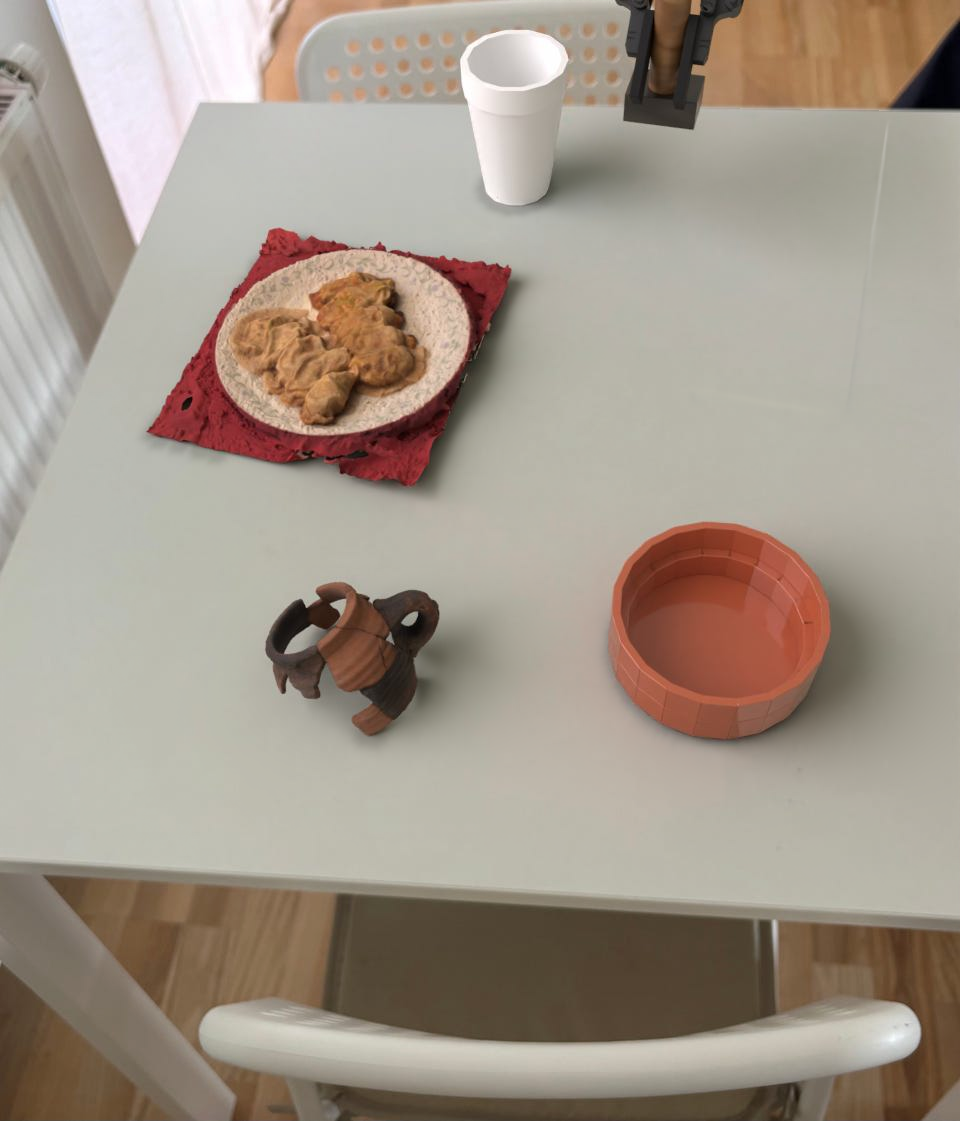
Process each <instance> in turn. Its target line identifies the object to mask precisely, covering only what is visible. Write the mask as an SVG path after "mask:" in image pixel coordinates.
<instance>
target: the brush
mask: <svg viewBox="0 0 960 1121" xmlns="http://www.w3.org/2000/svg"><path fill="white" fill-rule="evenodd" d="M654 2H655V3H654V10H655V11H654V23H653V35H652V47H651V57H650V62H649V68H648V73H647V79H646V84H645V89H644V95H643V100H642V105H638V104H632V101H631V99H630V97H629V94H630V89H631V83H632V78H633V73H634V70H633V71H632V73H631V76H630V79H629V82H628V85H627V88H626V91H625V93H624V102H623V114H622V117H623V118H622V121H623V122H628V123H634V124H644V125H651V126H660V127H665V128H666V127H667V128H673V129H674V128H675V129H683V130H684V129H685V130H689V131H690V130H691V131H694V130H695V128H696V125H697V124H696V123H697V120H698V117H699V114H700V110H701V108H702V104H703V98H704V90H705V83H706V75H701V74H695V73H694V74H693V73H691V77H690V82H689V88H688V93H687V98H686V103H685V108H684V110H677V109H675V107H674V104H673V98H674V93H675V87H676V82H677V77H678V72H679V66H680V61H681V56H682V51H683V45H684V40H685V35H686V30H687V24H688V19H689V14H691V12H692V3H693V0H654Z"/></svg>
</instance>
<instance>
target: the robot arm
mask: <svg viewBox="0 0 960 1121" xmlns="http://www.w3.org/2000/svg"><path fill="white" fill-rule="evenodd" d="M614 1H615V3H616V5H617V6H618V7H619V6H620V7H623V8H625V9H628V10H629V11H630V16H629V20H628V27H627V31H626V38H625V43H624V46H625V52H626V55H627V57H628V58H634V59H635V63H634V68H633V71H634V73H633V72H632V74H633V78H632V83H631V89H630V94H629V97H630V99H631V101H632V104H638V105H642V100H643V95H644V89H645V84H646V79H647V73H648V69H650V58H651V47H652V35H653V23H654V11H655V9H651V8H652V7H653V6H652V5H653V3H654V0H614ZM744 2H745V0H700V4H699V7H700V8H699V14H694V13H690V14H689V19H688V24H687V30H686V35H685V40H684V45H683V51H682V56H681V61H680V66H679V72H678V77H677V82H676V87H675V93H674V98H673V104H674V107H675V109H677V110H684V108H685V103H686V98H687V93H688V88H689V82H690V77H691V74H692V72H693V67H694V66H701V67H704V66H705V65H706V64H707V62H708V60H709V56H710V51H711V46H712V40H713V36H714V30H715V27H716V25H717V24H718V22H719V21H722V20H724V19H725V20H726V19H729V18H730V19H736V18H738V16H740V14H741V13H742V10H743V6H744Z"/></svg>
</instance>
